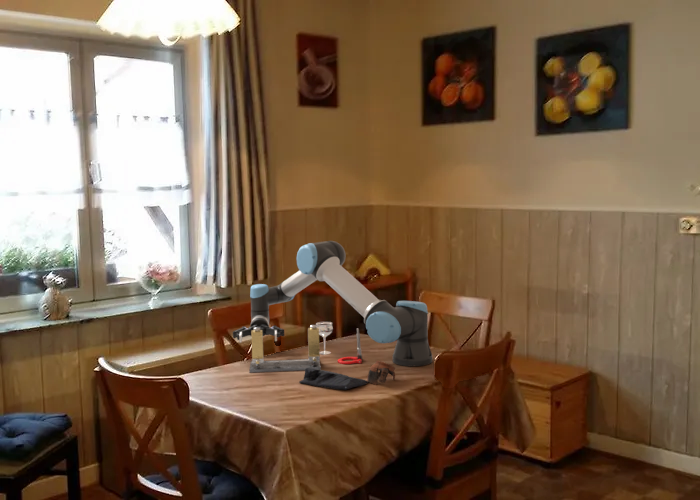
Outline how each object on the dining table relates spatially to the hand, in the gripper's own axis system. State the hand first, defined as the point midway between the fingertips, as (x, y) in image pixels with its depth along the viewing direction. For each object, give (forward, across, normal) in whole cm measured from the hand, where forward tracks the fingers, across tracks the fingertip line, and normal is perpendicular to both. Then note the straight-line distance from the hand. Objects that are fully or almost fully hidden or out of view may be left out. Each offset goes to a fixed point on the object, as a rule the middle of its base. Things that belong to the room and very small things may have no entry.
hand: (258, 338), depth 291 cm
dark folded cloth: (+33, -27, -10) cm, 44 cm away
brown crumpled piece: (+35, -43, -9) cm, 56 cm away
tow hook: (+6, -35, -9) cm, 37 cm away
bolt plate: (+10, -10, -9) cm, 17 cm away
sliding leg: (+11, 0, -7) cm, 13 cm away
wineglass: (-8, -26, -9) cm, 29 cm away
